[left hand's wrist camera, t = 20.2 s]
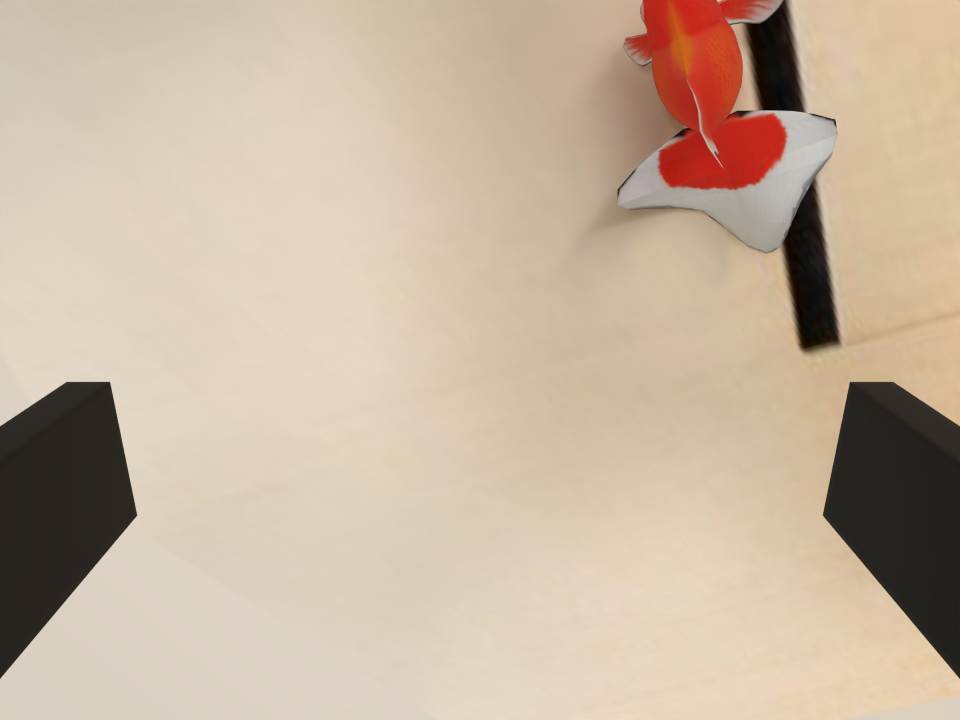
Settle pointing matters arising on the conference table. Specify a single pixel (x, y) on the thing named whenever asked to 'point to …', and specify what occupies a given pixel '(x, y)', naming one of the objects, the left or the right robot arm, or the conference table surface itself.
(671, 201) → the fish
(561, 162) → the conference table surface
